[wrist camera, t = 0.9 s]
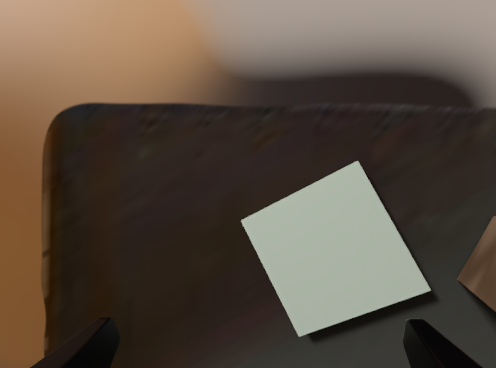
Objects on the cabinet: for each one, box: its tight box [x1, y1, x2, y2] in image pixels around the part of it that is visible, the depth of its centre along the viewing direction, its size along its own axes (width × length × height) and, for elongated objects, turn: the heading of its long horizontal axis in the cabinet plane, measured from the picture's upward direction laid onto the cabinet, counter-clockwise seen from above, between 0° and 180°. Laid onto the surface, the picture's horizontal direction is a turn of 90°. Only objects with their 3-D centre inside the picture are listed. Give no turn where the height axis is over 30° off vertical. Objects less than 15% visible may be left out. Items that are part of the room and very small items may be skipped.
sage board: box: [241, 161, 431, 337], centre depth 21 cm, size 10×10×2 cm
